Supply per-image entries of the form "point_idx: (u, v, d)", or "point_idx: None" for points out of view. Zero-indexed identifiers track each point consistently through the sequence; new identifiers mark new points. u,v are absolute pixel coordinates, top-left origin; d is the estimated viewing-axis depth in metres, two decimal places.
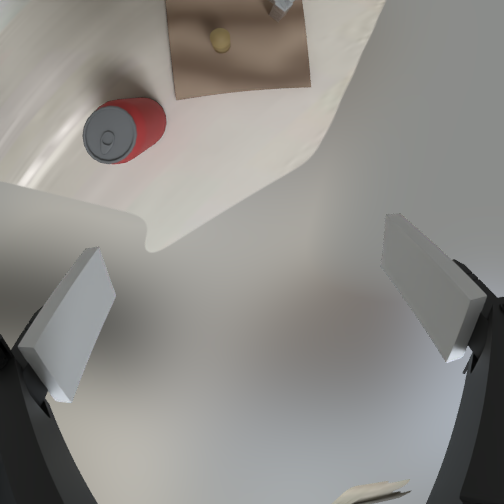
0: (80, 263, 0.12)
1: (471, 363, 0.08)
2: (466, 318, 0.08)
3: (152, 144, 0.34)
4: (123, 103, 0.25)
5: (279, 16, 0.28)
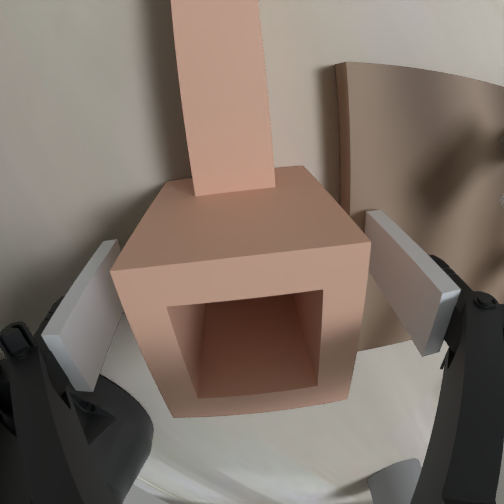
0: (99, 254, 0.12)
1: (448, 358, 0.08)
2: (439, 312, 0.08)
3: None
4: None
5: None
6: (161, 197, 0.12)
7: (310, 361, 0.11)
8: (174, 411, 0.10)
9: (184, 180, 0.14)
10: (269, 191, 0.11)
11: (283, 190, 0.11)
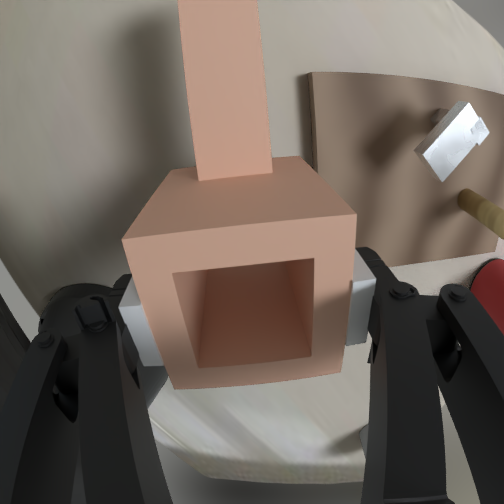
0: None
1: (372, 353, 0.09)
2: (355, 300, 0.09)
3: None
4: None
5: None
6: (167, 182, 0.13)
7: (305, 334, 0.12)
8: (175, 382, 0.11)
9: (188, 168, 0.15)
10: (266, 176, 0.12)
11: (279, 176, 0.12)
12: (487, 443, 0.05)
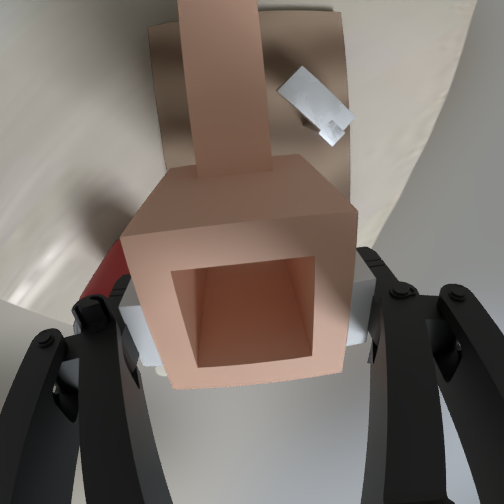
0: None
1: (372, 353, 0.09)
2: (355, 300, 0.09)
3: None
4: None
5: (320, 139, 0.23)
6: (166, 180, 0.13)
7: (305, 334, 0.12)
8: (174, 382, 0.11)
9: (187, 166, 0.15)
10: (266, 173, 0.12)
11: (279, 173, 0.12)
12: (487, 443, 0.05)
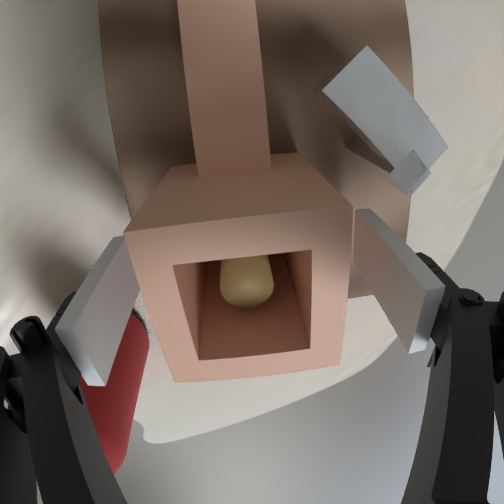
0: (110, 250, 0.13)
1: (434, 357, 0.09)
2: (424, 308, 0.09)
3: None
4: None
5: (379, 175, 0.14)
6: (167, 178, 0.13)
7: (303, 327, 0.12)
8: (176, 375, 0.11)
9: (188, 165, 0.15)
10: (265, 171, 0.12)
11: (278, 171, 0.12)
12: None
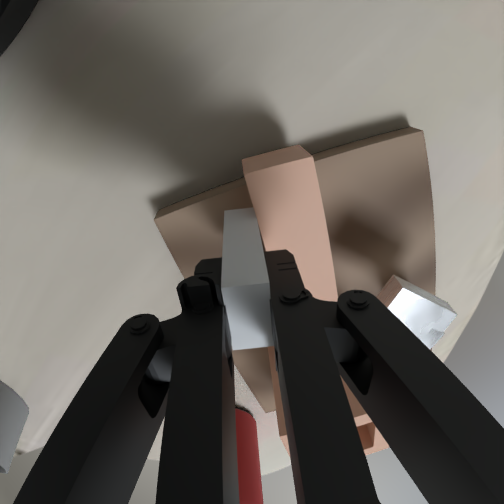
0: (231, 220, 0.14)
1: (276, 361, 0.09)
2: (251, 304, 0.10)
3: None
4: None
5: None
6: (273, 361, 0.19)
7: (368, 433, 0.17)
8: None
9: None
10: None
11: None
12: (422, 455, 0.05)
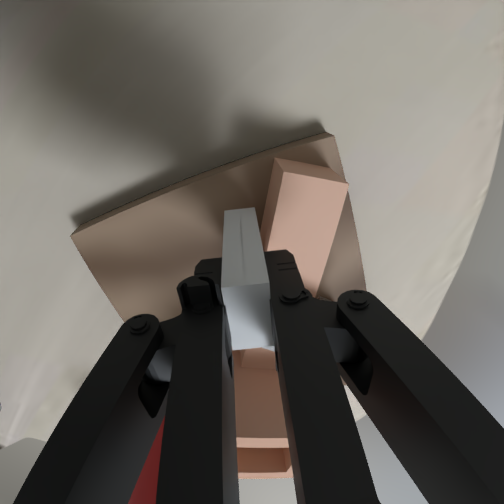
0: (231, 220, 0.14)
1: (276, 361, 0.09)
2: (251, 303, 0.10)
3: None
4: None
5: None
6: None
7: (284, 458, 0.18)
8: None
9: None
10: None
11: None
12: (422, 455, 0.05)
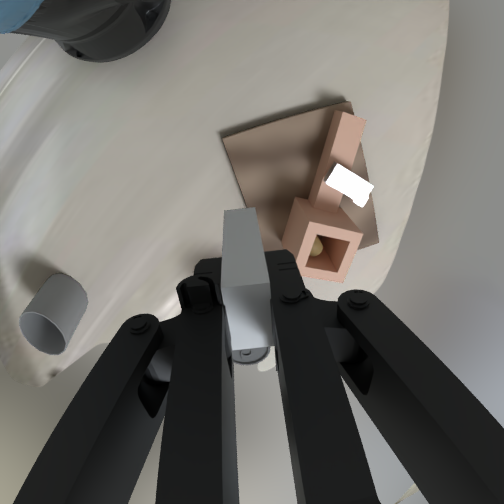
0: (231, 220, 0.14)
1: (277, 361, 0.09)
2: (251, 303, 0.10)
3: None
4: None
5: None
6: (301, 203, 0.37)
7: (334, 267, 0.36)
8: None
9: (302, 199, 0.39)
10: (335, 214, 0.37)
11: (339, 215, 0.37)
12: (422, 455, 0.05)
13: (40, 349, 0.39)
